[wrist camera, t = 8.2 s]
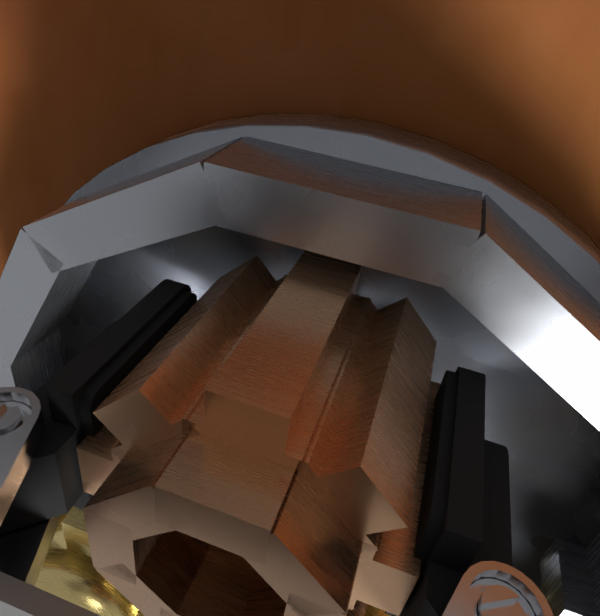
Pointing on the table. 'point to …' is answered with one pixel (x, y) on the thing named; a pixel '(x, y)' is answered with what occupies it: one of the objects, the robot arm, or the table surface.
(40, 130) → the table surface
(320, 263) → the planet gear
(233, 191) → the carrier
